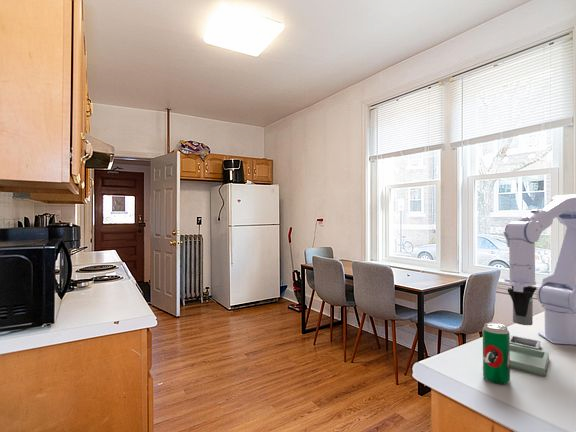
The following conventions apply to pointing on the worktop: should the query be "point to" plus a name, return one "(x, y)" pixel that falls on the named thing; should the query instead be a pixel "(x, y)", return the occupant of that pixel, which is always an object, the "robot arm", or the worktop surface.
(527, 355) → the tray
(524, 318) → the cylinder
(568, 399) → the worktop surface
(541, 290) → the robot arm
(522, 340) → the collar
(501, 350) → the soda can
